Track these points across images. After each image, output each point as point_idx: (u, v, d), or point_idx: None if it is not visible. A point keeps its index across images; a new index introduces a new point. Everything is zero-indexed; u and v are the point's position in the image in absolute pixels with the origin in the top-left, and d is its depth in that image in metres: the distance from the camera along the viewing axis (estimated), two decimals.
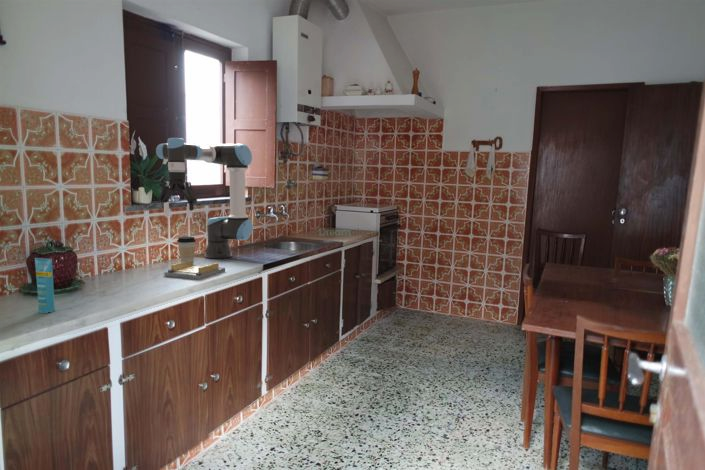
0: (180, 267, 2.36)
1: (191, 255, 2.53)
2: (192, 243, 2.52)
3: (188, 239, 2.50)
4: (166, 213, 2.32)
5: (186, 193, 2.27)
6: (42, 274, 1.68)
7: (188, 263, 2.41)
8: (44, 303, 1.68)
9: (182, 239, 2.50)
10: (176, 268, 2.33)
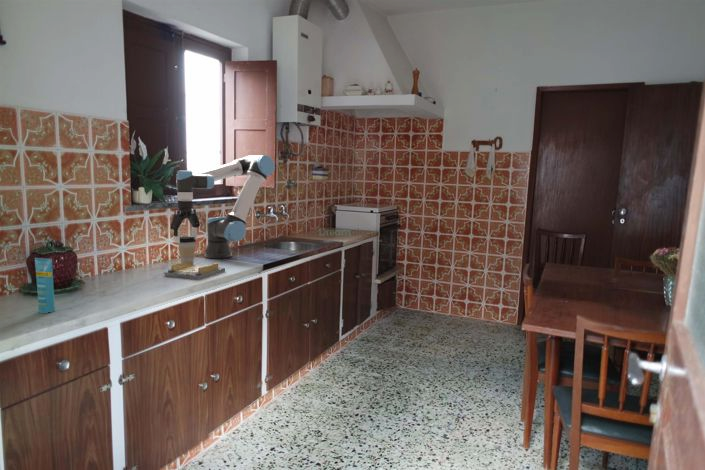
0: (180, 267, 2.36)
1: (191, 255, 2.53)
2: (192, 243, 2.52)
3: (188, 239, 2.50)
4: None
5: (178, 220, 2.47)
6: (42, 274, 1.68)
7: (188, 263, 2.41)
8: (44, 303, 1.68)
9: (182, 239, 2.50)
10: (176, 268, 2.33)
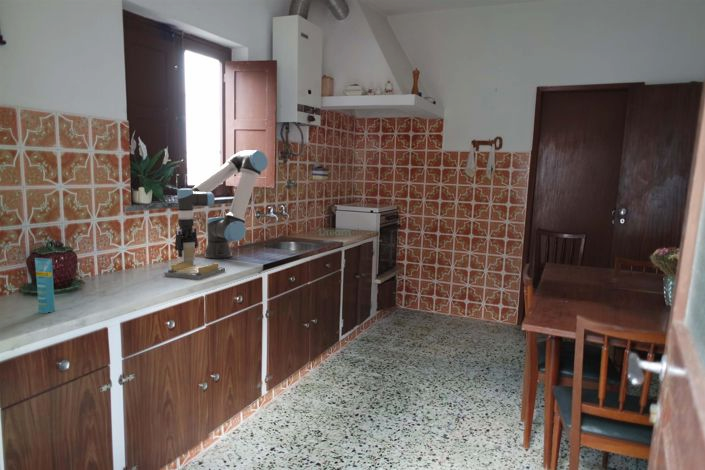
0: (180, 267, 2.36)
1: (191, 255, 2.53)
2: (192, 243, 2.52)
3: (188, 239, 2.50)
4: None
5: None
6: (42, 274, 1.68)
7: (188, 263, 2.41)
8: (44, 303, 1.68)
9: (182, 239, 2.50)
10: (176, 268, 2.33)
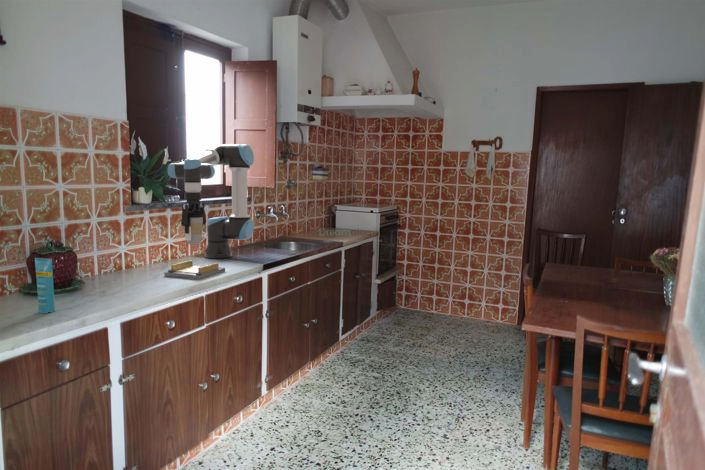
0: (180, 267, 2.36)
1: (199, 232, 2.31)
2: (200, 218, 2.30)
3: (195, 214, 2.29)
4: None
5: None
6: (42, 274, 1.68)
7: (188, 263, 2.41)
8: (44, 303, 1.68)
9: (189, 214, 2.28)
10: (176, 268, 2.33)
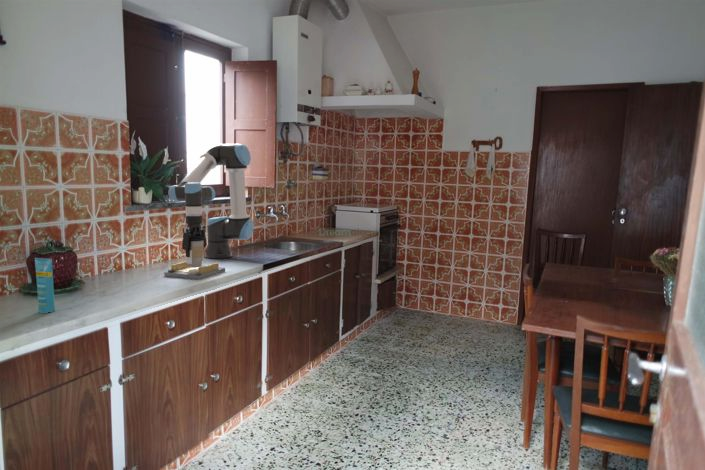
0: (180, 267, 2.36)
1: (199, 255, 2.32)
2: (200, 242, 2.32)
3: (196, 237, 2.30)
4: None
5: None
6: (42, 274, 1.68)
7: None
8: (44, 303, 1.68)
9: (190, 237, 2.29)
10: (176, 268, 2.33)
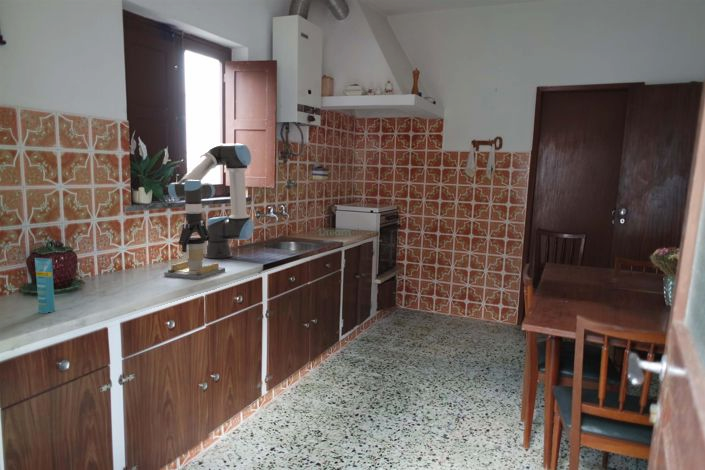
0: (180, 267, 2.36)
1: (200, 258, 2.33)
2: (201, 245, 2.32)
3: (196, 240, 2.30)
4: None
5: (187, 234, 2.28)
6: (42, 274, 1.68)
7: None
8: (44, 303, 1.68)
9: (190, 240, 2.30)
10: (176, 268, 2.33)
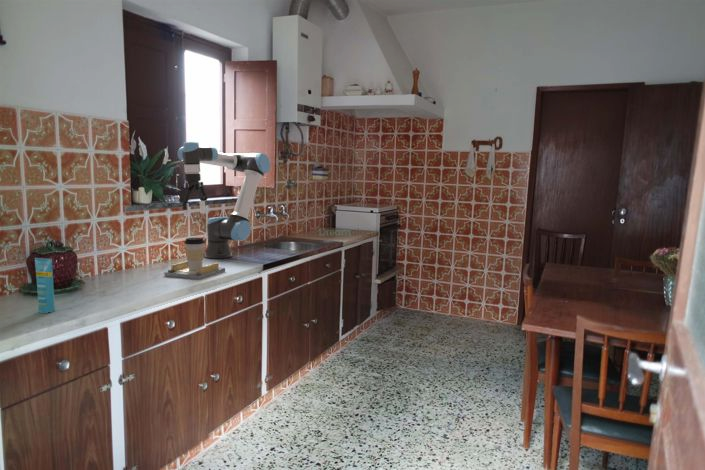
0: (180, 267, 2.36)
1: (200, 258, 2.33)
2: (201, 245, 2.32)
3: (196, 240, 2.30)
4: (201, 210, 2.55)
5: (187, 193, 2.42)
6: (42, 274, 1.68)
7: None
8: (44, 303, 1.68)
9: (190, 240, 2.30)
10: (176, 268, 2.33)
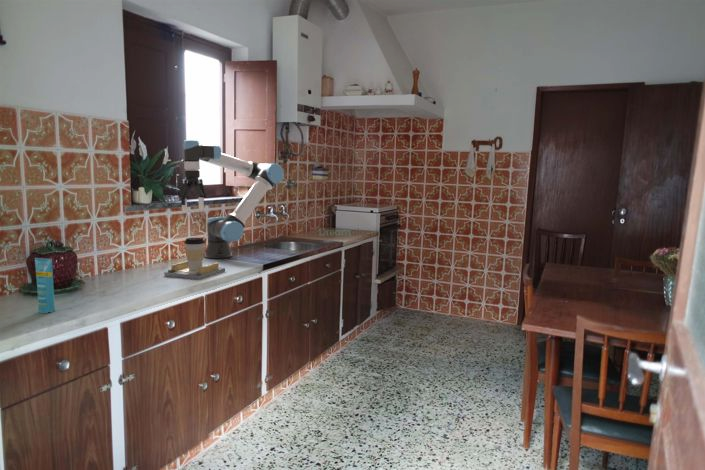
0: (180, 267, 2.36)
1: (200, 258, 2.33)
2: (201, 245, 2.32)
3: (196, 240, 2.30)
4: (200, 207, 2.63)
5: (185, 189, 2.51)
6: (42, 274, 1.68)
7: None
8: (44, 303, 1.68)
9: (190, 240, 2.30)
10: (176, 268, 2.33)
